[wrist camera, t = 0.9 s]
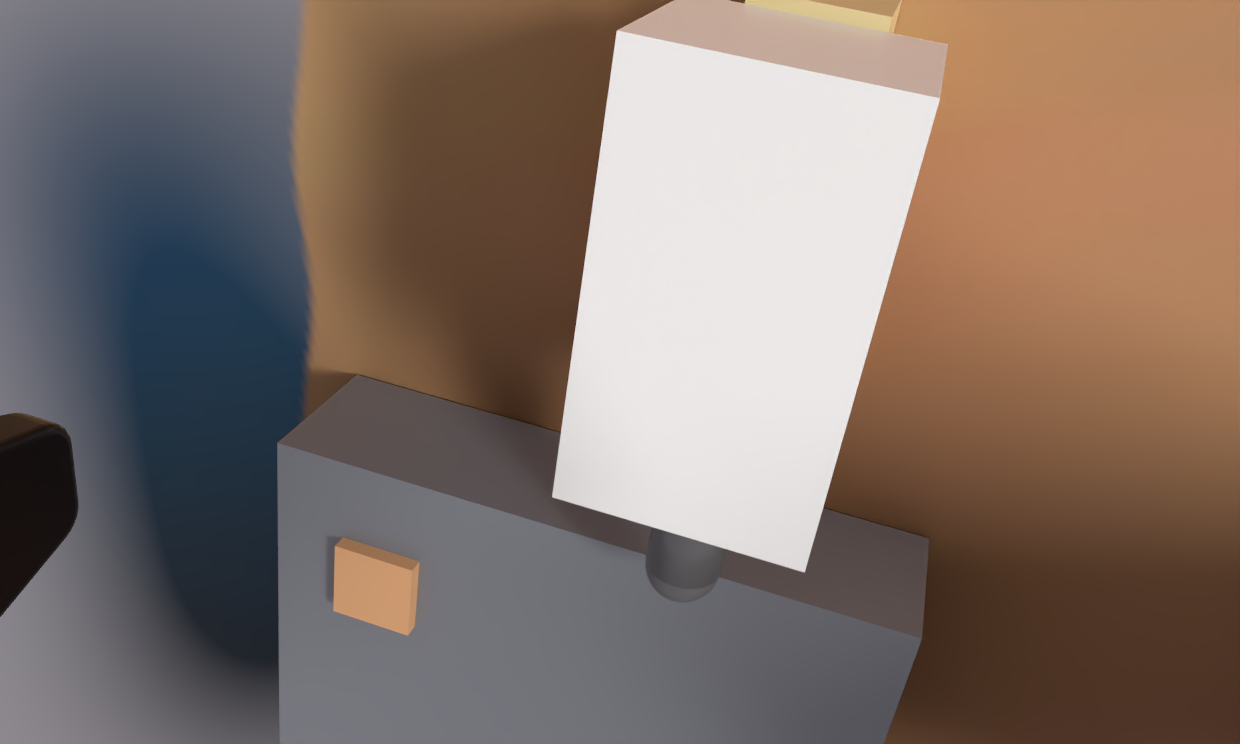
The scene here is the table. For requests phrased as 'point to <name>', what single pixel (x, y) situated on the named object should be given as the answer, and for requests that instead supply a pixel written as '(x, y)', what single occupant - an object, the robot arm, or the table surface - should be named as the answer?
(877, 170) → the plug
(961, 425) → the table surface
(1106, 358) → the table surface
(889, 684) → the socket
